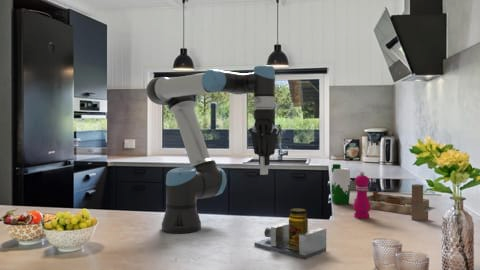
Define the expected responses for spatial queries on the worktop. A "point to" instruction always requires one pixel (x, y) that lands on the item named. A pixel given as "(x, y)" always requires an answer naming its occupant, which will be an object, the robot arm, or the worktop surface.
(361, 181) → the pepper mill
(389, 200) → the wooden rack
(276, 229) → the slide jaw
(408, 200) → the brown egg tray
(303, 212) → the condiment
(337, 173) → the milk carton
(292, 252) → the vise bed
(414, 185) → the wooden block
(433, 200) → the worktop surface
